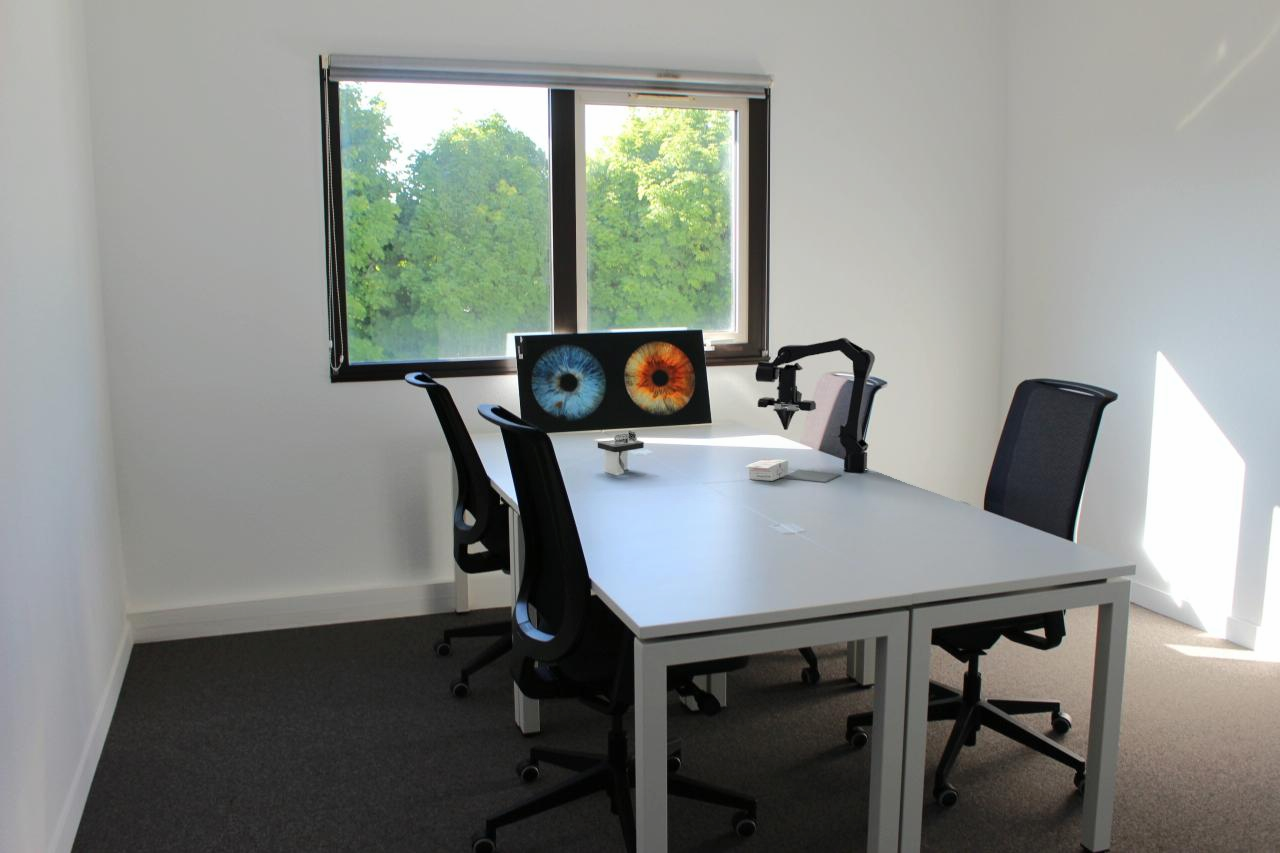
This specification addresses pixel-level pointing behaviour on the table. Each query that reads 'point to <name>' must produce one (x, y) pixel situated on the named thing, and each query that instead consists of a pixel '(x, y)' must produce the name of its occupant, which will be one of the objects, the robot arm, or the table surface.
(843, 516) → the table surface
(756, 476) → the ink cartridge box
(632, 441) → the black-topped pedestal
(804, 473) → the mat
